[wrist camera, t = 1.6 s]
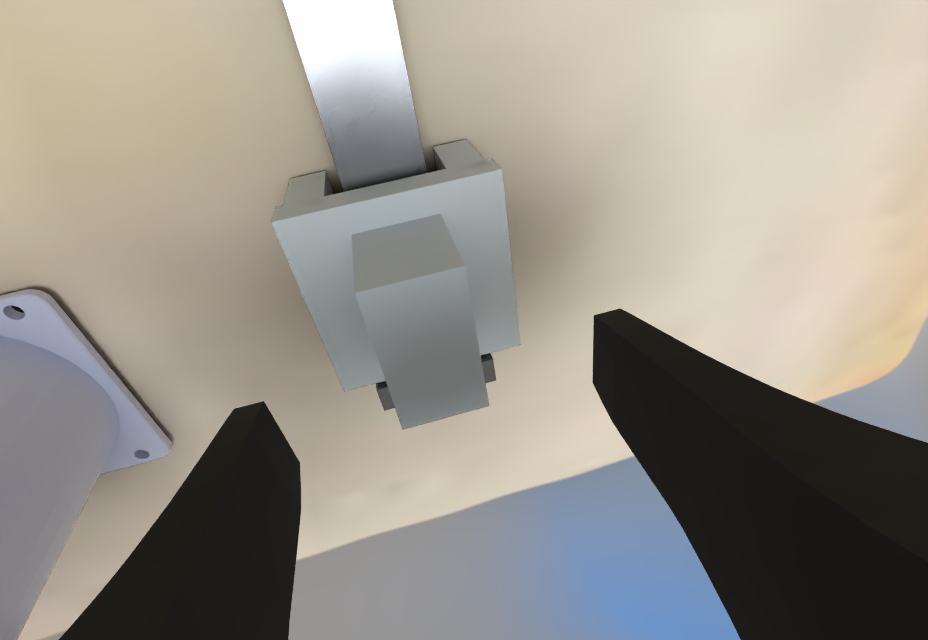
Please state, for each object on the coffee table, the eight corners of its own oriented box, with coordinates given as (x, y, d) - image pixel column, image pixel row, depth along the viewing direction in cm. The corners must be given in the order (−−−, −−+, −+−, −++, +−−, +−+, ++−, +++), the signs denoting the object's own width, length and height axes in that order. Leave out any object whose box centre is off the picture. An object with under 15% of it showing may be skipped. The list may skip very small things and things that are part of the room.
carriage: (343, 332, 18) (344, 466, 13) (283, 180, 14) (252, 281, 9) (494, 294, 18) (553, 408, 13) (472, 137, 15) (542, 212, 10)
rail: (377, 348, 19) (384, 410, 16) (122, -392, 8) (13, -588, 6) (473, 323, 19) (495, 380, 16) (342, -417, 9) (343, -613, 6)
